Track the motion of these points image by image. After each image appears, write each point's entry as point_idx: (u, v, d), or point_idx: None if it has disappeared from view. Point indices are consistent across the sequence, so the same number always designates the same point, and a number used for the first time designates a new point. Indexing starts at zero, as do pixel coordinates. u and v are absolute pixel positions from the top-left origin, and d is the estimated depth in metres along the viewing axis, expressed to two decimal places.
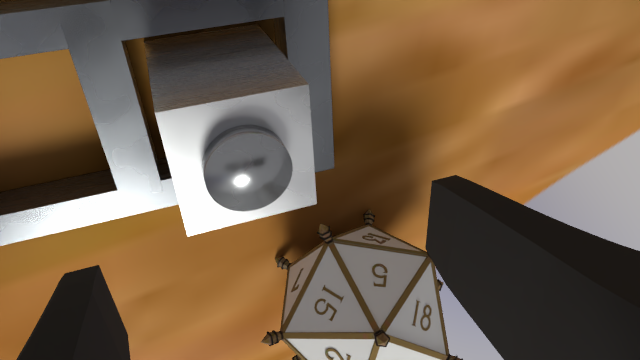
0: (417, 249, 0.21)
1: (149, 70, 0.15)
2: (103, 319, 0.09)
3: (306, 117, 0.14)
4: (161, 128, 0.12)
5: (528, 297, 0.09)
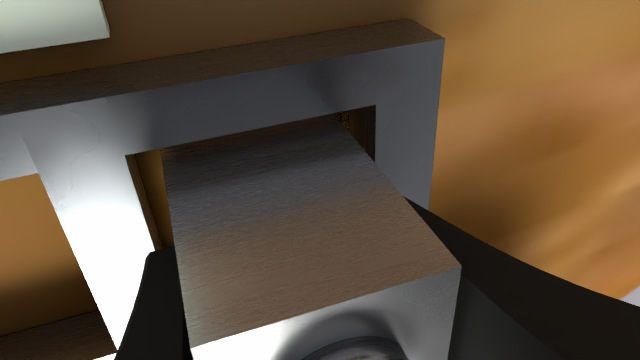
0: None
1: (171, 213, 0.09)
2: None
3: (447, 312, 0.08)
4: None
5: (453, 323, 0.08)
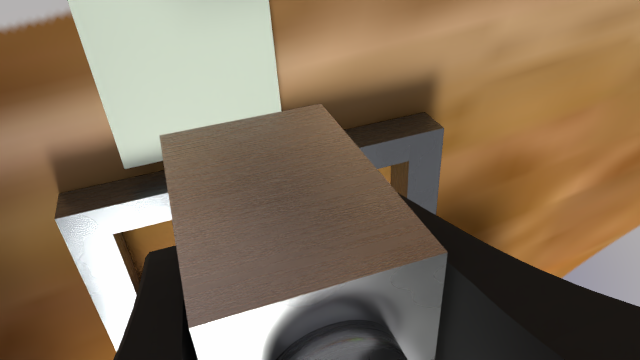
0: None
1: (171, 205, 0.09)
2: None
3: (435, 297, 0.08)
4: (199, 347, 0.07)
5: (453, 323, 0.08)
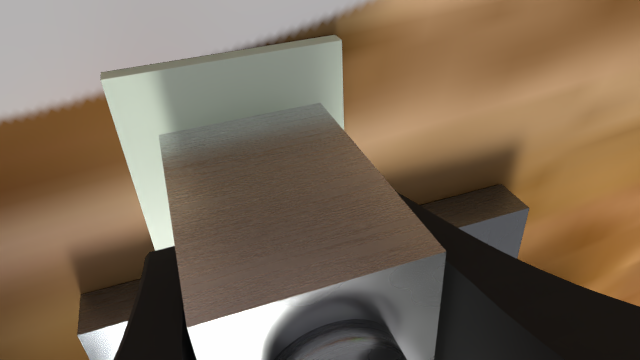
0: None
1: (170, 204, 0.09)
2: None
3: (434, 296, 0.08)
4: (197, 347, 0.07)
5: (453, 323, 0.08)
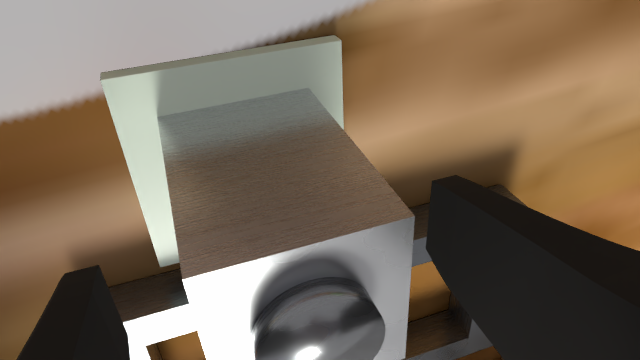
0: None
1: (168, 177, 0.10)
2: (103, 319, 0.09)
3: (405, 258, 0.09)
4: (191, 298, 0.08)
5: (528, 297, 0.09)
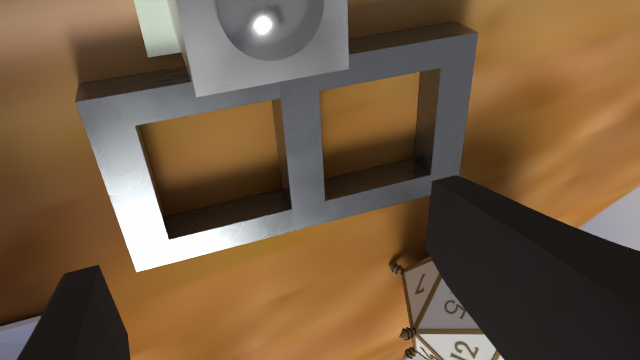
0: None
1: None
2: (103, 319, 0.09)
3: None
4: None
5: (528, 297, 0.09)
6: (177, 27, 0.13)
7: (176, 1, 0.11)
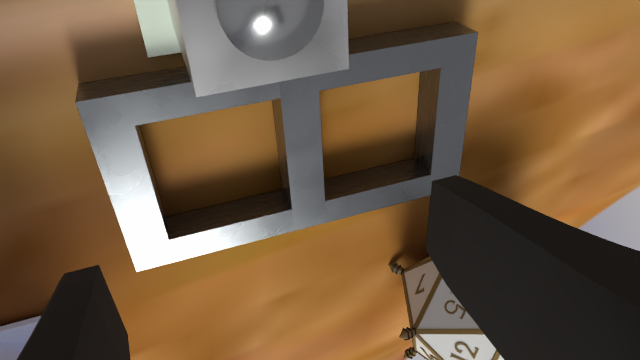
0: None
1: None
2: (103, 319, 0.09)
3: None
4: None
5: (528, 297, 0.09)
6: (177, 27, 0.13)
7: (176, 1, 0.11)
